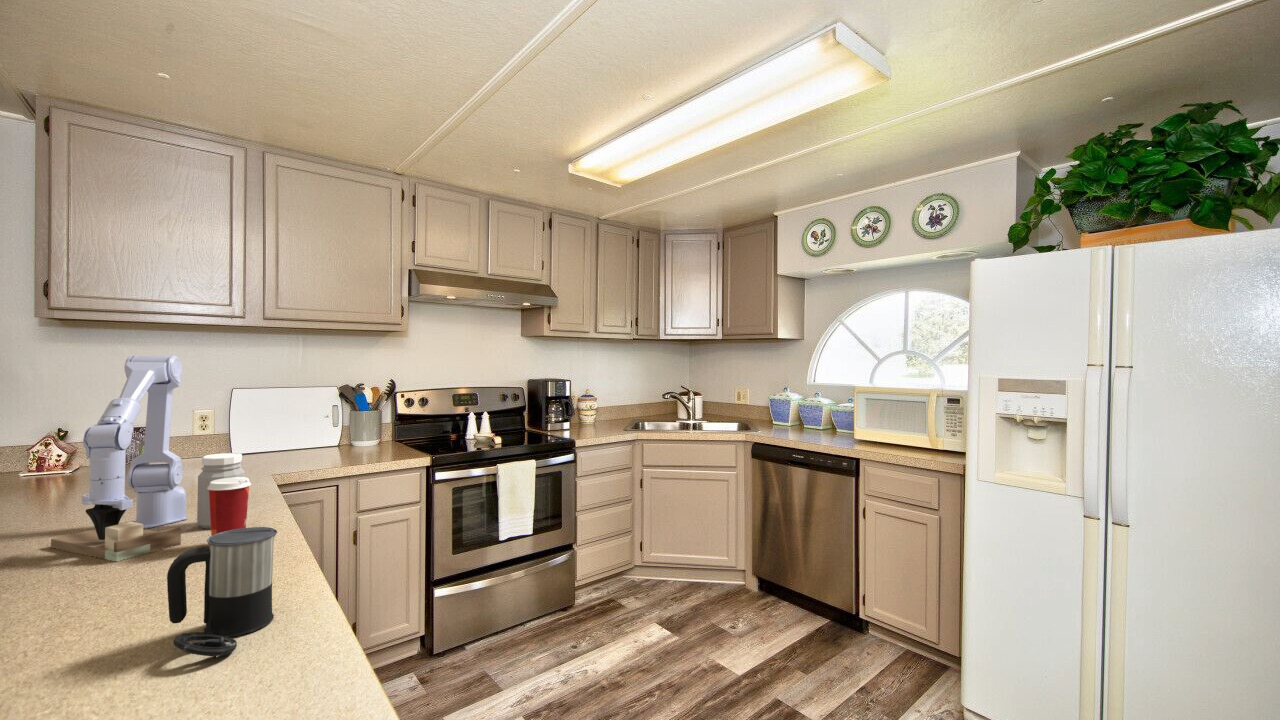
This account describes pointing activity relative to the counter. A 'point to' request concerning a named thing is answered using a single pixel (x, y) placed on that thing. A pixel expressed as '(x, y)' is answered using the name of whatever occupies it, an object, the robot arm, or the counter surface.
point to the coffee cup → (228, 503)
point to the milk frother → (226, 589)
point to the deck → (118, 544)
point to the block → (122, 533)
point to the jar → (213, 470)
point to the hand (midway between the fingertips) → (106, 538)
